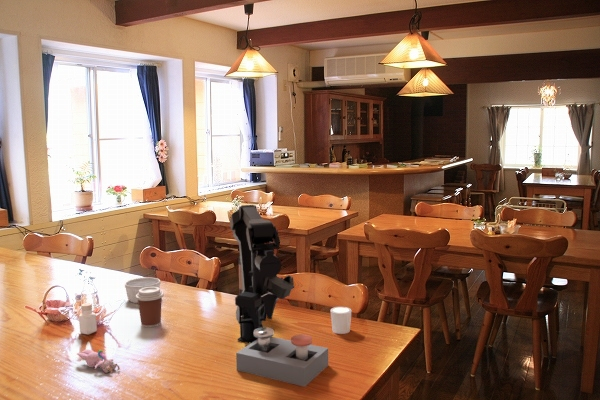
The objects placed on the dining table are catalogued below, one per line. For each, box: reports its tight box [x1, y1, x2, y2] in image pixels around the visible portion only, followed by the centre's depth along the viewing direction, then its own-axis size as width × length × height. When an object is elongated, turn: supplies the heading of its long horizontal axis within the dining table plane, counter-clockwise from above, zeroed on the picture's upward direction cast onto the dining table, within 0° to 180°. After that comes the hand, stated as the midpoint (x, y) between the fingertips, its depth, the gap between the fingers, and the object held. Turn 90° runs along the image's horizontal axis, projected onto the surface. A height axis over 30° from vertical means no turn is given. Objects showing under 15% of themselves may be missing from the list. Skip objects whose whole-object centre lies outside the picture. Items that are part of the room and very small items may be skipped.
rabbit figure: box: [76, 349, 121, 375], centre depth 152 cm, size 6×6×15 cm
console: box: [235, 336, 329, 388], centre depth 150 cm, size 21×14×5 cm, turn 61°
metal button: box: [254, 326, 275, 352], centre depth 152 cm, size 6×6×6 cm
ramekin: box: [124, 276, 162, 304], centre depth 212 cm, size 13×13×7 cm
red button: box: [290, 334, 313, 361], centre depth 147 cm, size 6×6×6 cm
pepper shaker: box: [78, 302, 98, 336], centre depth 178 cm, size 4×4×10 cm
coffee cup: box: [135, 287, 164, 328], centre depth 185 cm, size 9×9×12 cm
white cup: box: [329, 306, 352, 335], centre depth 176 cm, size 7×7×7 cm
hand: (263, 322), depth 152 cm, fingers open, 6 cm apart
